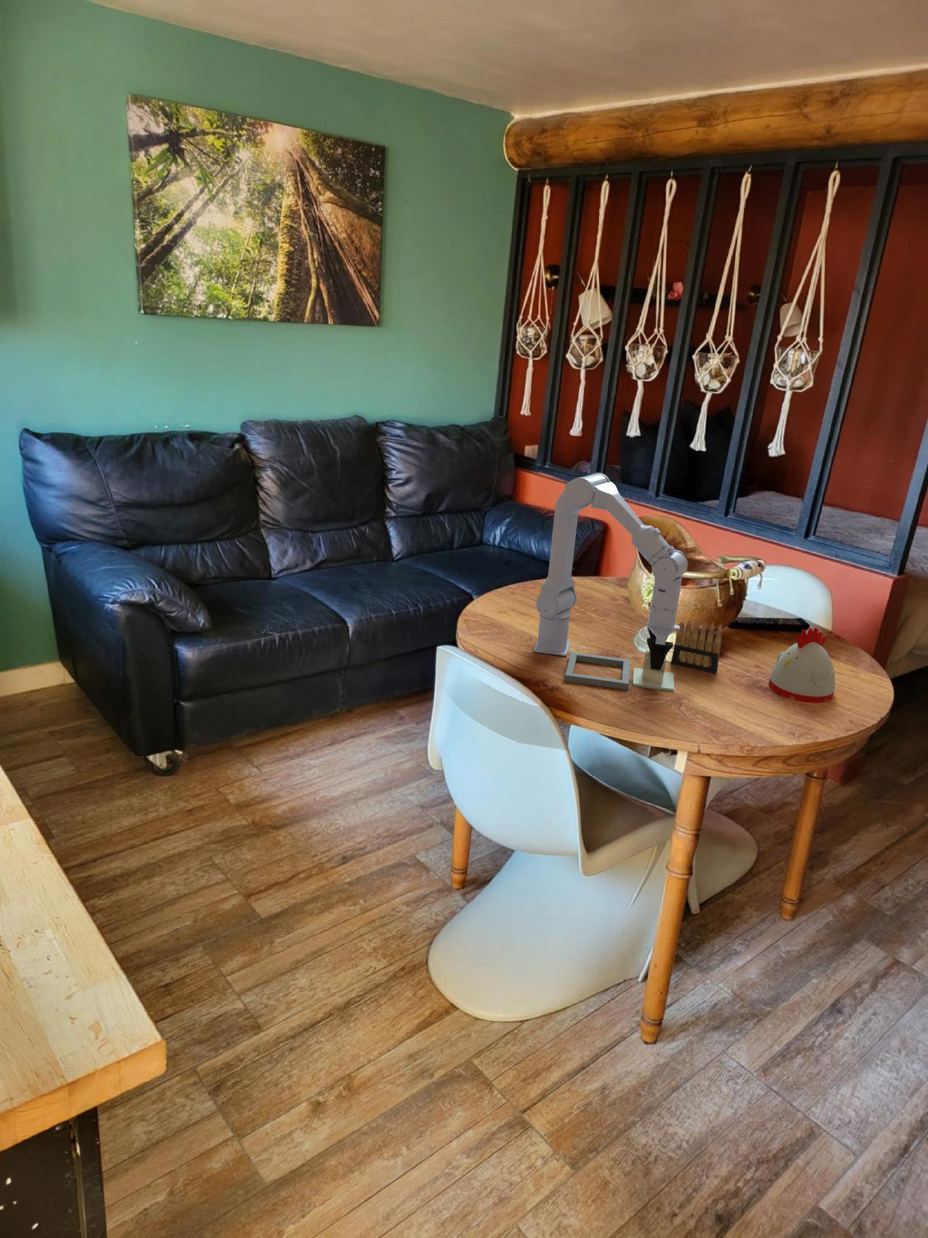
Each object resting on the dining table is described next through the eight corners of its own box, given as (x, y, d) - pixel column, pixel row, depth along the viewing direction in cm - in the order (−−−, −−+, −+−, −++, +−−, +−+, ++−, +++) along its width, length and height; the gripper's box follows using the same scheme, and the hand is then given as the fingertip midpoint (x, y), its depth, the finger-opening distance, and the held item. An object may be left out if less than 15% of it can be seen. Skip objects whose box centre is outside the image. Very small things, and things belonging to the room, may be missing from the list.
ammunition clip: (670, 664, 198) (677, 617, 194) (672, 661, 200) (679, 615, 196) (716, 674, 194) (724, 626, 190) (717, 671, 196) (725, 623, 192)
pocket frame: (570, 657, 199) (571, 651, 198) (629, 665, 196) (630, 659, 196) (564, 681, 186) (565, 675, 185) (627, 689, 183) (628, 683, 183)
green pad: (633, 670, 194) (633, 667, 194) (672, 675, 192) (673, 673, 192) (632, 685, 185) (632, 683, 185) (673, 691, 184) (674, 689, 184)
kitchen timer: (755, 680, 193) (767, 619, 187) (802, 674, 197) (815, 615, 192) (797, 706, 180) (811, 642, 175) (846, 699, 185) (861, 637, 180)
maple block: (642, 672, 191) (645, 650, 189) (662, 675, 190) (665, 653, 188) (642, 680, 187) (645, 658, 185) (662, 683, 186) (665, 660, 184)
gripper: (683, 619, 175) (674, 677, 180) (681, 598, 188) (672, 652, 193) (649, 615, 176) (641, 673, 181) (650, 594, 190) (642, 648, 194)
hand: (655, 662), depth 187 cm, fingers open, 7 cm apart
